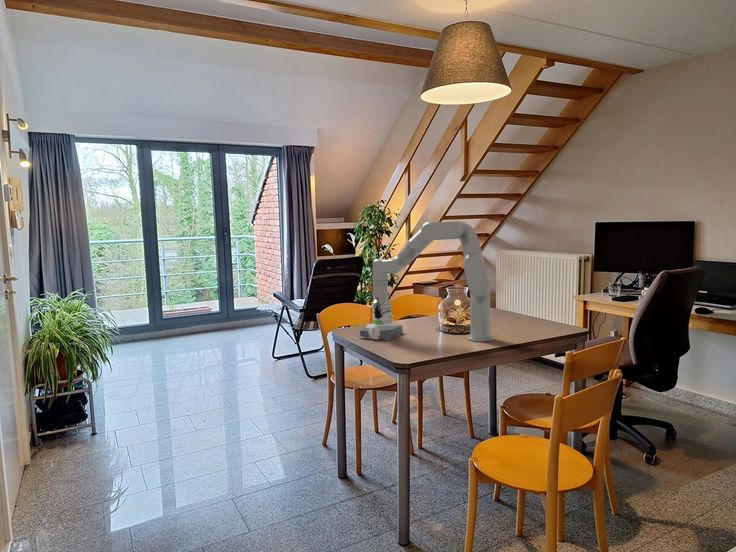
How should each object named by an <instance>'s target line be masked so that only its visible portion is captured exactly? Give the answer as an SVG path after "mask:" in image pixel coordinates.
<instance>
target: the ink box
mask: <svg viewBox="0 0 736 552" xmlns="http://www.w3.org/2000/svg"><path fill="white" fill-rule="evenodd" d="M377 304H379V303H377ZM378 308H379V306H378ZM380 310H381V318H375V310H374V305H373V304H372V321H373V322H372V324H375V325H386V324H392V301H390V300H388V301H386V302H384V305H383V306H381V308H380Z"/></svg>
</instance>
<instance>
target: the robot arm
mask: <svg viewBox="0 0 736 552" xmlns="http://www.w3.org/2000/svg"><path fill="white" fill-rule="evenodd" d="M457 239H458V240H459V242H460V245H461V250H462V252H463V257H464V260H463V270H464V274H465V278H466V282H467V287H468V291H469V295H470V297H469V300H470V301H469V303H470V304H469V315H470V317H469V319H470V320H469V324H470V325H469V327H470V328H469V330H470V331H469V334H468V335H467V336H466V338H467V340H469V341H471V342H483V343H484V342H491V341H493V340H494V335H492V334H491V290H492V289H491V287H492V286H491V280H490V279H489V277H488V273H487V269H486V265H485V259H484V256H483V251H482V249H481V245H480V241H479V237H478V235H477V232H476V230H475V229H474V227H472V226H471V225H470V224H468V223H467V222H463V221H460V220H453V221H452V220H451V221H426V222H425V223H424V224H423V225H422V226H421V228H420V229H419V230H418V231H417V232H416V233H415V234H414V235H413V236H412V237H411V238H410V239H409V240H408V241H407V243H406V244H405V246H404V247H403V249H402V250H401V251H400V252H399V253H398V254H397V255H396V256H395V257H393V258H391V259H386V258H375V259H373V260H372V281H373V282H372V283H373V285H372V287H373V288H372V289H373V291H372V306H373V305H374V310H375V318H381V310H380V308H381V306H383V305H384V302H386V301H390V300H389V290H388V286H389V274H390V275H391V274H392V275H395V274H398V273H401V271H403V270H404V269H405V268H406V267H407V266H408V265H409V264H410V263H411V262H412V261H414V259H416V257H418V256H419V255H420V254H421V253H422V252H423V251H424V250H426V248H428V247H429V245H430V244H432V243H433V241H436V240H437V241H438V240H439V241H442V240H445V241H447V240H457ZM377 303H379V304H377ZM378 306H379V308H378Z"/></svg>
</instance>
